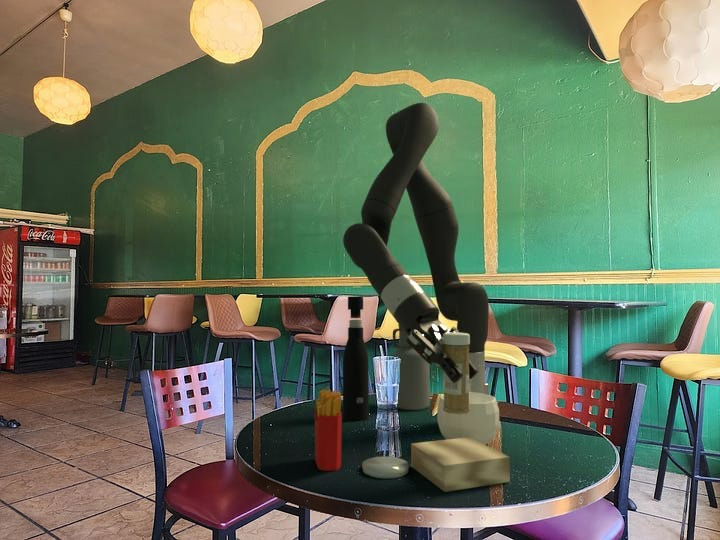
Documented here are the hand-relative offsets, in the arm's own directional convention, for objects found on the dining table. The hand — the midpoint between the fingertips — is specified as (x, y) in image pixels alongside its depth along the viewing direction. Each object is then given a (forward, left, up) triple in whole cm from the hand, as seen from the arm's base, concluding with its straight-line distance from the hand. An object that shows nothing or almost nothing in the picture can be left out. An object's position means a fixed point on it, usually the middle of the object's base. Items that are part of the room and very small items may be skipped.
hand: (466, 377), depth 84 cm
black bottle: (+5, -44, -17) cm, 47 cm away
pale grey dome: (+12, -8, -17) cm, 22 cm away
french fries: (+20, -14, -17) cm, 30 cm away
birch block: (+1, -2, -17) cm, 17 cm away
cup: (-9, -15, -17) cm, 24 cm away
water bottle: (-13, -50, -17) cm, 54 cm away
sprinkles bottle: (+1, -2, -6) cm, 7 cm away
